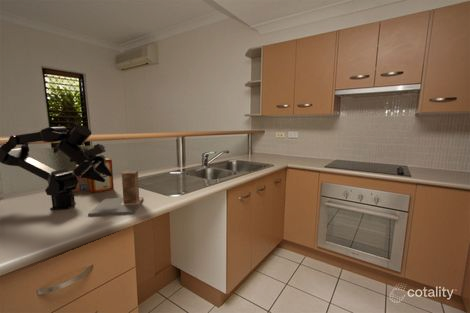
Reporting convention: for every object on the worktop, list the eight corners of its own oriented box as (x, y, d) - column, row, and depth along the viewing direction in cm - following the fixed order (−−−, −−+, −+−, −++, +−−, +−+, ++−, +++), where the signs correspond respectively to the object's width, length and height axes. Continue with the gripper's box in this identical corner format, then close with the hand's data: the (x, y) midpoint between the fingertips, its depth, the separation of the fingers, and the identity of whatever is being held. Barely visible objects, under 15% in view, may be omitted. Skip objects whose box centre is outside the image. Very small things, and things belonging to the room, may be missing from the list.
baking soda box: (92, 193, 109) (90, 161, 106) (88, 190, 113) (86, 159, 110) (113, 189, 115) (111, 158, 113) (109, 186, 120) (107, 157, 117)
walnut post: (123, 203, 93) (121, 173, 91) (127, 199, 98) (125, 170, 96) (136, 203, 94) (134, 173, 92) (139, 199, 99) (137, 170, 97)
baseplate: (88, 216, 83) (87, 213, 83) (105, 200, 99) (105, 198, 99) (133, 213, 86) (133, 211, 86) (143, 199, 102) (143, 197, 102)
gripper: (79, 139, 79) (116, 169, 83) (98, 136, 97) (127, 160, 101) (56, 162, 79) (94, 190, 83) (79, 154, 96) (109, 178, 101)
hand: (108, 178), depth 92 cm, fingers open, 9 cm apart
